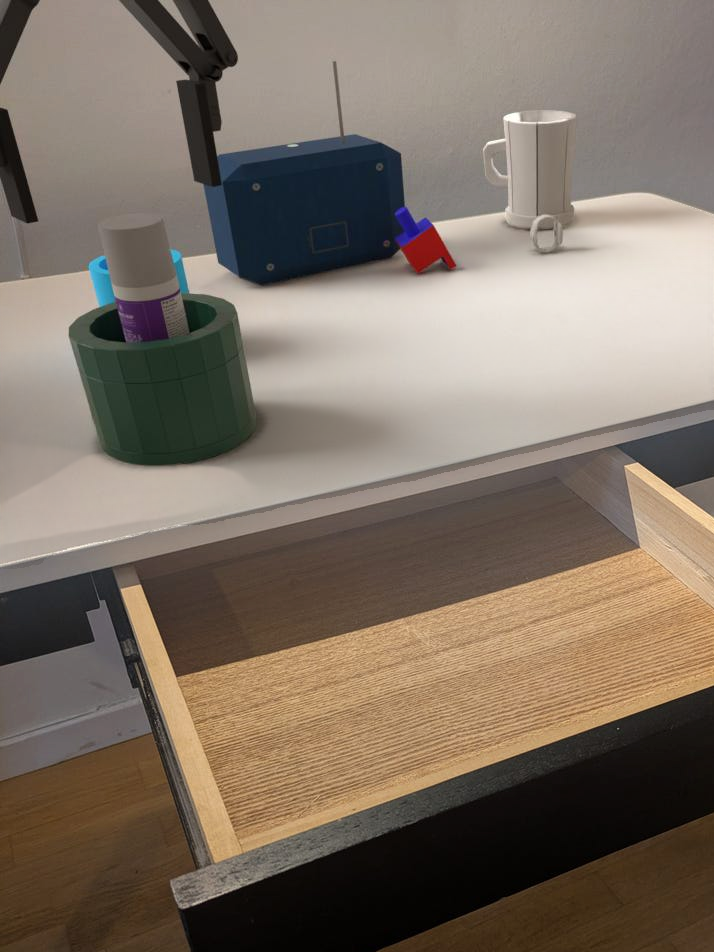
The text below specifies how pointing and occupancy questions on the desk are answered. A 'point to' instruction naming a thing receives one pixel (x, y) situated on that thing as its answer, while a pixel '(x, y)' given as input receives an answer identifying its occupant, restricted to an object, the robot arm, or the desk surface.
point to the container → (143, 277)
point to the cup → (535, 166)
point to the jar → (166, 385)
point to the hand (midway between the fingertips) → (121, 200)
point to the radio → (306, 206)
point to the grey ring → (557, 233)
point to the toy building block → (421, 242)
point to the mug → (105, 286)
